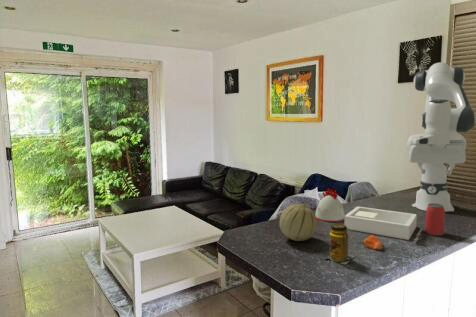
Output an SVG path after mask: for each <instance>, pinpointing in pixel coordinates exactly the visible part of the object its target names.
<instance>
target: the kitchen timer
mask: <svg viewBox="0 0 476 317" xmlns="http://www.w3.org/2000/svg"><path fill="white" fill-rule="evenodd" d="M338 195H339V192H337V191H336V189H335V190H334V191H333V189H330V188H328V189H327V190H324V192H322V196H323V197H322V199H321V200H320V201H319V203H318V204H317V207H316V211H315V213H314V214H315V216H316V220H317V222H319V221H320V222H321V221H322V222H328V223H336V222H337V223H339V222H342V221H344V216H345V215H346V214H345V213H346V212H345V210H344V207H343V204H342V202H341V201H340V200H339V199H338Z"/></svg>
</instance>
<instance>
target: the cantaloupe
mask: <svg viewBox="0 0 476 317" xmlns="http://www.w3.org/2000/svg"><path fill="white" fill-rule="evenodd" d="M306 205H307V203H303V204H300V203H292V204H289V205H288V206H287V207H286V208H284V210H283V211H282V213H281V215H280V218H279V228H280V231H281V232H282V233H283V235H284V236H285V237H287V238H288V239H290V240H292V241H295V242H304V241H307V240H309V239H311V238H312V237H313V235H315V231H316V229H317V225H318V223H317V222H318V221H317V220H316V216H315V214H316V213H314V211H313V210H312V209H311V208H310V207H309V206H306Z"/></svg>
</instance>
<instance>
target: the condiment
mask: <svg viewBox="0 0 476 317" xmlns="http://www.w3.org/2000/svg"><path fill="white" fill-rule="evenodd" d="M329 256H330V259H331V260H333V261H335V262H334V263H336V262H337V263H336V264H339V263H338V262H343V263H340V264H342V265H344V266H345V265H347V264H348V263H349V262H350V261H351V260H352V259H354V257H355V255H352V254H351V255H350V254H349V234H348V229H347V227H346V226H345V225H344V223H332V224H331V225H330V232H329ZM347 258H349V260H348V259H347ZM333 261H332V262H333Z"/></svg>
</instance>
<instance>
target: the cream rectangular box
mask: <svg viewBox="0 0 476 317" xmlns="http://www.w3.org/2000/svg"><path fill="white" fill-rule="evenodd" d="M354 216H355V217H361V218H368V219H374V220H378V213H372V212H365V211H359V212H357V213H356V214H355V215H354Z"/></svg>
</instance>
